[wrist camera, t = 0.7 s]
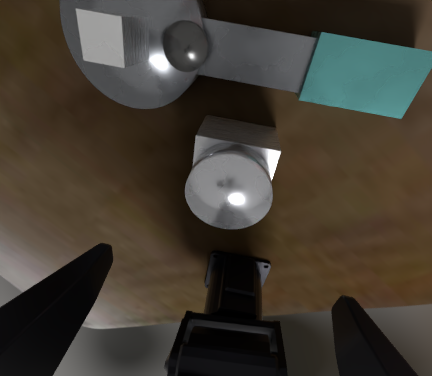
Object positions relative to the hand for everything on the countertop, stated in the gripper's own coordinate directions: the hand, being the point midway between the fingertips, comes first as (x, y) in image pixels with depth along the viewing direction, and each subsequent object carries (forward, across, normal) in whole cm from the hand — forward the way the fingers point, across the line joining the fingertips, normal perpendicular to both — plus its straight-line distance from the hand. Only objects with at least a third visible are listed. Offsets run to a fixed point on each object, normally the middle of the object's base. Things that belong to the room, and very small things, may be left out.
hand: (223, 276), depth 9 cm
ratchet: (+12, +7, -7) cm, 15 cm away
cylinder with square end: (+12, 0, 0) cm, 12 cm away
